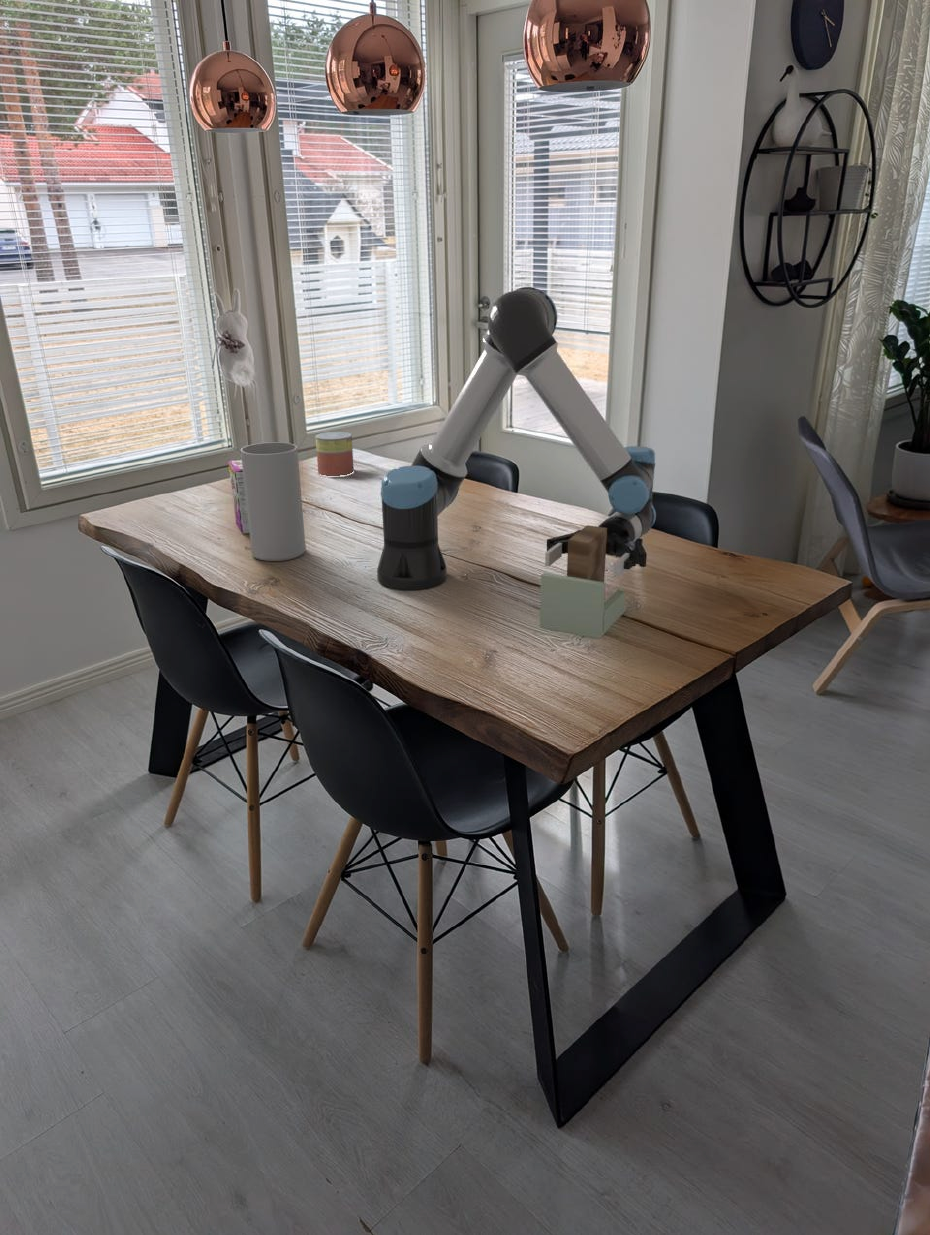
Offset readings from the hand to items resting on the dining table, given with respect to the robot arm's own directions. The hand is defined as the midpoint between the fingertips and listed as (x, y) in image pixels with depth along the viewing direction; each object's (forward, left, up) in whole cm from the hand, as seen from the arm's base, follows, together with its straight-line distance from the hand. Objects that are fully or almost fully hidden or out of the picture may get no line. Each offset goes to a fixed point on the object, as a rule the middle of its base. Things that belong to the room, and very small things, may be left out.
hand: (580, 565), depth 169 cm
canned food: (+12, +135, -12) cm, 136 cm away
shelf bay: (+3, +2, -12) cm, 12 cm away
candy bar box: (-31, +96, -12) cm, 101 cm away
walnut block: (+3, +2, -9) cm, 10 cm away
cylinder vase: (-32, +72, -12) cm, 79 cm away
